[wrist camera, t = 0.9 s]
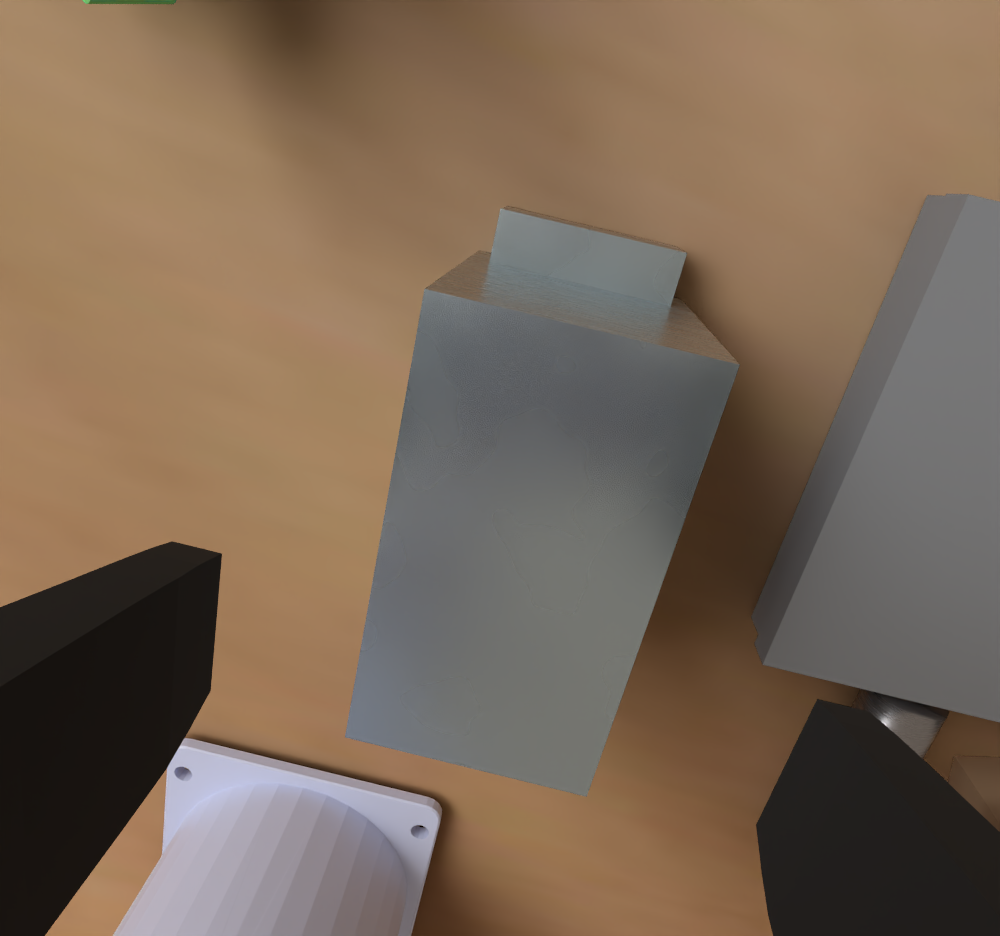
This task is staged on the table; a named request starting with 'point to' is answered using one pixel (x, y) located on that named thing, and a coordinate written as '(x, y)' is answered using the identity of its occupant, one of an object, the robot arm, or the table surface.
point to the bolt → (904, 718)
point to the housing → (535, 499)
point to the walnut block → (978, 784)
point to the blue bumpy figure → (129, 1)
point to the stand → (907, 490)
